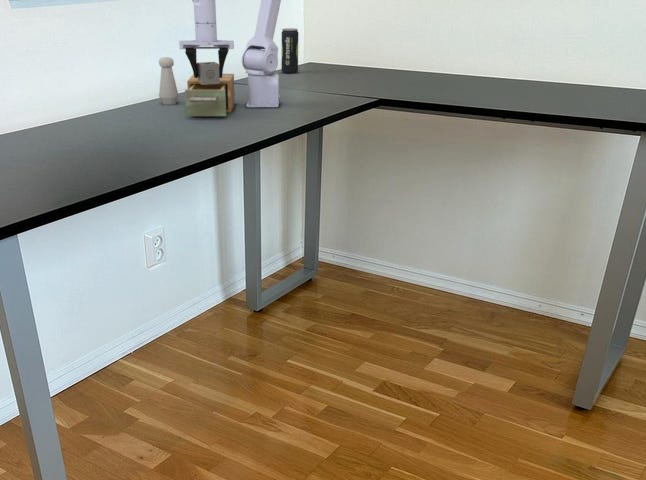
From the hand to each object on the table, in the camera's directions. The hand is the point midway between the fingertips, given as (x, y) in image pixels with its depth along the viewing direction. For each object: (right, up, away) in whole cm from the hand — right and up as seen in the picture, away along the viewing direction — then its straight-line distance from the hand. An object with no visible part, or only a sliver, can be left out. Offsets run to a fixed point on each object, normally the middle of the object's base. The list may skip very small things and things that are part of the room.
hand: (208, 77), depth 193 cm
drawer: (0, -9, +3) cm, 9 cm away
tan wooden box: (0, -3, +14) cm, 15 cm away
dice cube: (0, -1, +1) cm, 2 cm away
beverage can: (+24, +31, +72) cm, 82 cm away
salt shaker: (-14, 0, +21) cm, 25 cm away
